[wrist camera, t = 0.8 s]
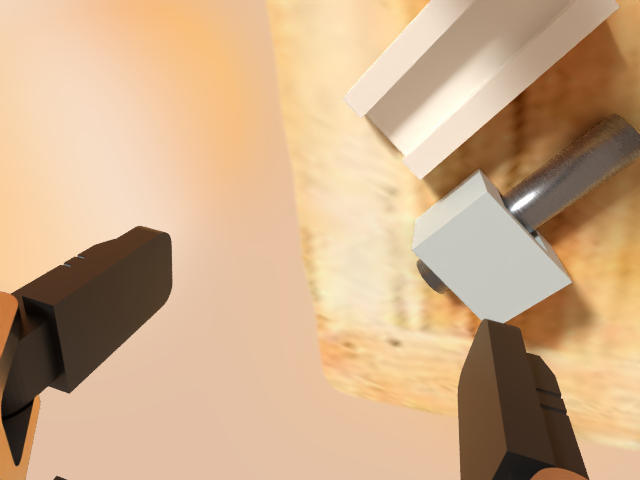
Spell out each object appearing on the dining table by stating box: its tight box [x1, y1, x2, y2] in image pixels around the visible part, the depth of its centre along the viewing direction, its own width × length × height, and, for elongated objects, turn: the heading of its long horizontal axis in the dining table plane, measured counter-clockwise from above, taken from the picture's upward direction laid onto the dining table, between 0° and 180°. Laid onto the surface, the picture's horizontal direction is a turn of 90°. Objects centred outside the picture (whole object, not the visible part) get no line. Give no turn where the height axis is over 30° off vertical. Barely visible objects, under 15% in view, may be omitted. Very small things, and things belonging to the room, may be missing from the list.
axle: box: [417, 113, 640, 294], centre depth 30 cm, size 16×3×3 cm, turn 136°
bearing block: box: [412, 168, 572, 323], centre depth 30 cm, size 6×8×6 cm
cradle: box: [342, 0, 620, 180], centre depth 27 cm, size 14×8×3 cm, turn 136°
